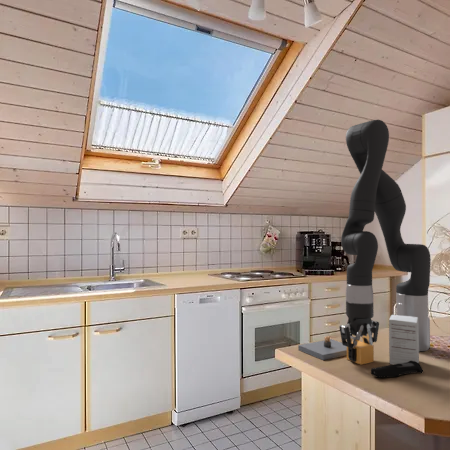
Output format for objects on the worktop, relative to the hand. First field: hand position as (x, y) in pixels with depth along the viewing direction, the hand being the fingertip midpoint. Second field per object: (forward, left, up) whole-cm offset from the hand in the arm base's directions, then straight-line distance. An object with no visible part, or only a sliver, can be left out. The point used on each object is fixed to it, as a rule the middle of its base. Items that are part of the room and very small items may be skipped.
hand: (359, 358), depth 109 cm
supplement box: (-10, +7, -1) cm, 12 cm away
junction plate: (+2, -11, -1) cm, 11 cm away
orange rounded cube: (0, 0, 0) cm, 0 cm away
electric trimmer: (0, +12, -1) cm, 12 cm away
